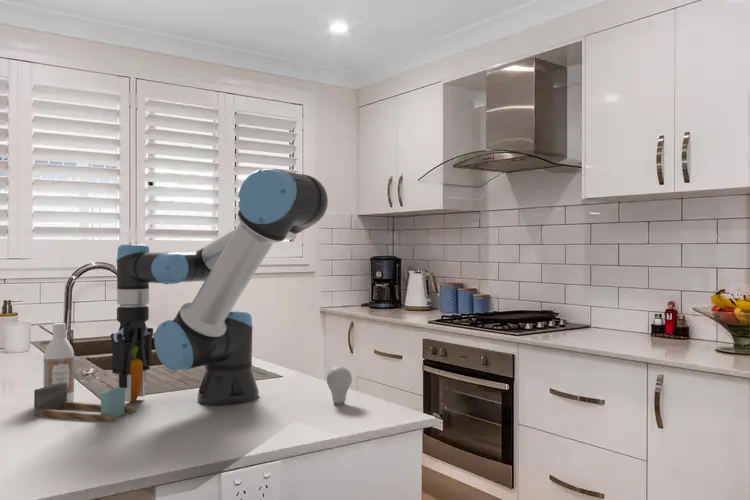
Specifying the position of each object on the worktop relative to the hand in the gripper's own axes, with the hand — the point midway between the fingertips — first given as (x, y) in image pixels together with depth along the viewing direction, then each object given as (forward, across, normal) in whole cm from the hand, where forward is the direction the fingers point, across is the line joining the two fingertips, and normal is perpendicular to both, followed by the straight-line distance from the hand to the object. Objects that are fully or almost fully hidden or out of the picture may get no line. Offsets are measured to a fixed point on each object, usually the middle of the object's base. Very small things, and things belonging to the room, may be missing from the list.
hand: (132, 398), depth 159 cm
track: (+2, +12, -3) cm, 12 cm away
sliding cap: (+2, +12, +4) cm, 13 cm away
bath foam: (+2, +4, -19) cm, 19 cm away
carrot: (+2, 0, 0) cm, 2 cm away
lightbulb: (+2, -9, +52) cm, 53 cm away
